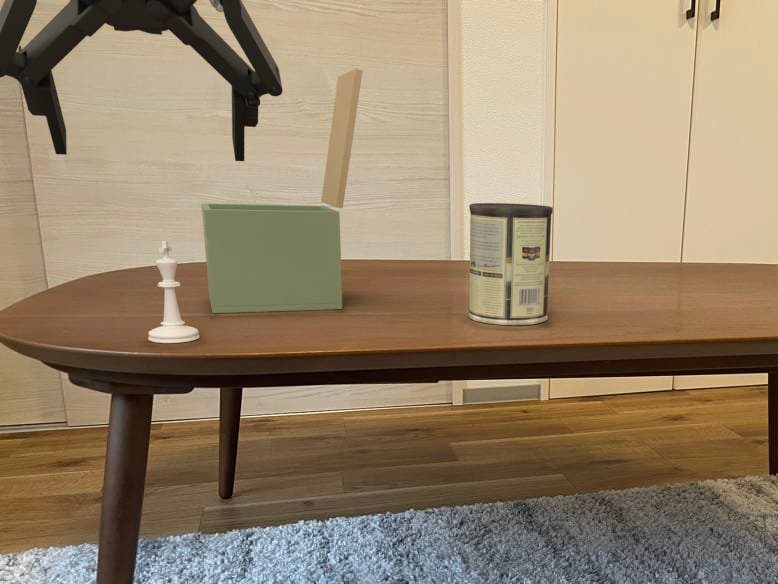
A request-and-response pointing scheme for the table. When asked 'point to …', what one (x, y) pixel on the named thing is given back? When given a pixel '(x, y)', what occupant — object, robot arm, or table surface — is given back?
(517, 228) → the coffee can
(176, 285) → the chess piece
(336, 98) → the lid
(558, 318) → the table surface
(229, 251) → the chest
